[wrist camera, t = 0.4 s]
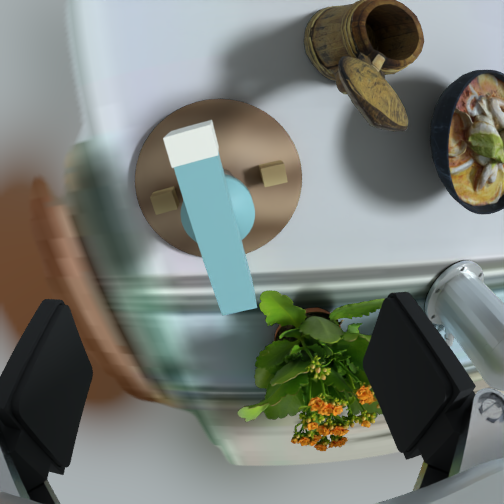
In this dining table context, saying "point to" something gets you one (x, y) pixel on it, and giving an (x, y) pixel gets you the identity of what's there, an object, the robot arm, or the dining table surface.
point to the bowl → (471, 140)
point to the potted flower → (314, 370)
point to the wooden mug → (366, 54)
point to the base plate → (235, 155)
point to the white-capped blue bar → (214, 213)
